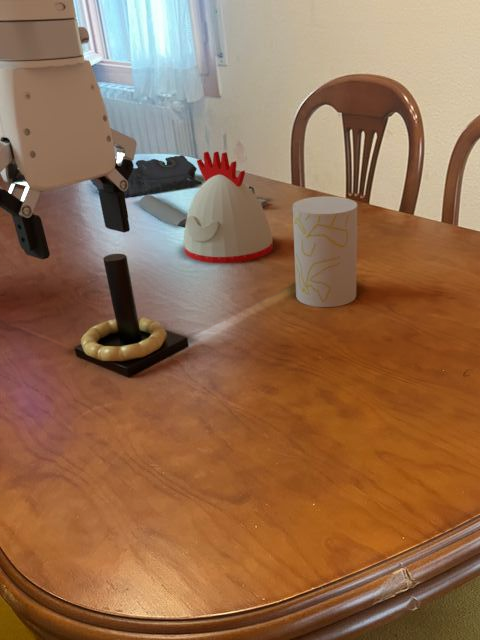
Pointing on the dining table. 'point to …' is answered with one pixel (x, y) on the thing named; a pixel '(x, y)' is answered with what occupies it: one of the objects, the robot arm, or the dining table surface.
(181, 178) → the black rough slab
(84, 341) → the ring
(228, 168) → the white chicken hat
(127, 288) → the post
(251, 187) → the strap clip
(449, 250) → the dining table surface
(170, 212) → the gray half cylinder
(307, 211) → the white patterned cylinder
